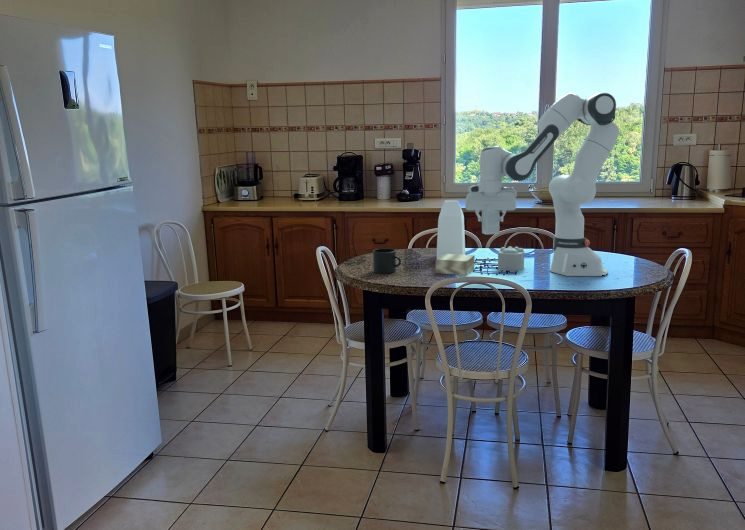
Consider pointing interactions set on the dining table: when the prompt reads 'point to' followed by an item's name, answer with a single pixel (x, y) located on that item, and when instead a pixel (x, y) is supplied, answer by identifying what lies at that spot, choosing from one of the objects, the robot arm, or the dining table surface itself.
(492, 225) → the skincare box
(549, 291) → the dining table surface
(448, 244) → the milk
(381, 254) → the mug
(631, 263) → the dining table surface
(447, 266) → the birch block
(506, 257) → the lumpy-topped squat cylinder
